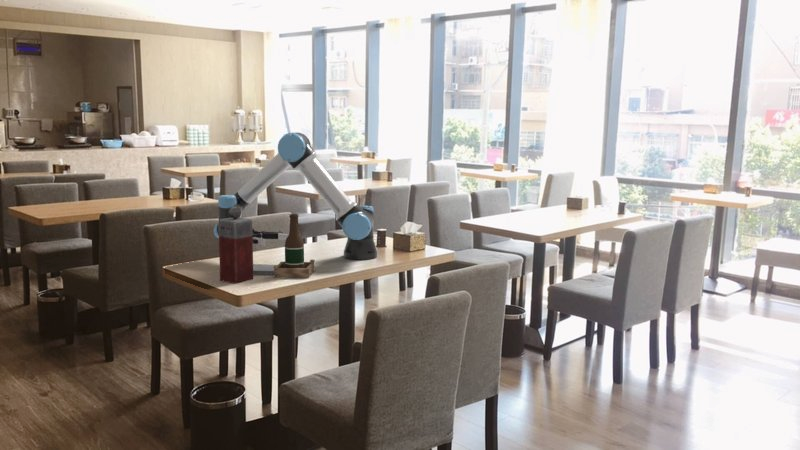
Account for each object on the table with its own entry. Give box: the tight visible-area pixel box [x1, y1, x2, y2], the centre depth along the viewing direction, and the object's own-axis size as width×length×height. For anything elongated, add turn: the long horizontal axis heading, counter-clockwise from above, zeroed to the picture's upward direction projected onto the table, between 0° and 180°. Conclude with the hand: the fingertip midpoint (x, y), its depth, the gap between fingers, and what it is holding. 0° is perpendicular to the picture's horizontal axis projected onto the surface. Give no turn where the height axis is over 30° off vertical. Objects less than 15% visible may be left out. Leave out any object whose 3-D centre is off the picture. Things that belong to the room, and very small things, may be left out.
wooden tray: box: [273, 259, 315, 279], centre depth 270 cm, size 14×14×4 cm
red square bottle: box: [217, 207, 254, 285], centre depth 258 cm, size 9×11×28 cm
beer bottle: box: [284, 213, 305, 268], centre depth 269 cm, size 8×8×24 cm
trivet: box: [253, 263, 275, 276], centre depth 275 cm, size 12×12×2 cm
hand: (277, 240), depth 274 cm, fingers open, 13 cm apart
